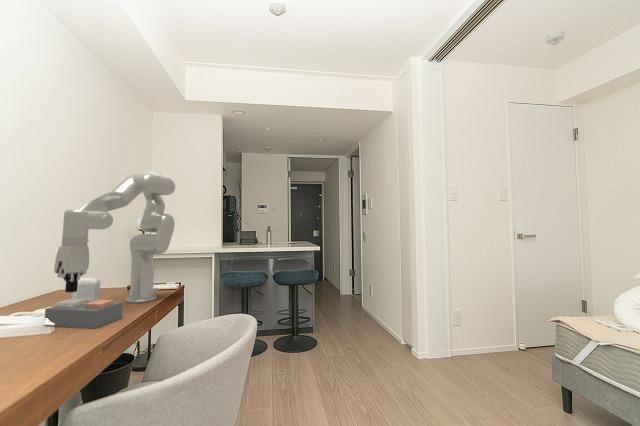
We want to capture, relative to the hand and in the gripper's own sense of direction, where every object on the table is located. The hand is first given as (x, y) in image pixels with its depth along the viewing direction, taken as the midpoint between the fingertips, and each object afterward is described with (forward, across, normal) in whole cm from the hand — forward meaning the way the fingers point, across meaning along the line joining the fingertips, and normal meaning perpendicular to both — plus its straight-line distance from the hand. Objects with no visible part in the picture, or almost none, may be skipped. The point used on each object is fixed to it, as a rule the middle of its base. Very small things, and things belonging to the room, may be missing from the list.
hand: (71, 291), depth 110 cm
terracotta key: (+8, -1, +11) cm, 14 cm away
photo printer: (+11, -20, -12) cm, 26 cm away
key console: (+11, -1, +6) cm, 12 cm away
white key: (+8, -1, 0) cm, 8 cm away
